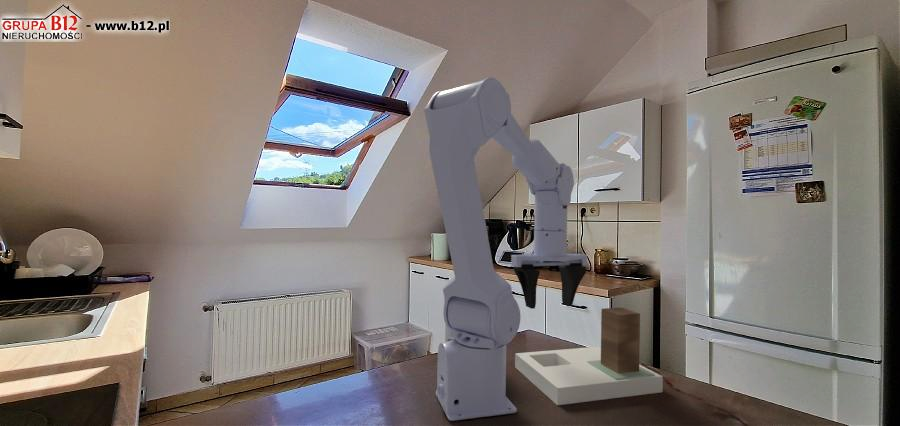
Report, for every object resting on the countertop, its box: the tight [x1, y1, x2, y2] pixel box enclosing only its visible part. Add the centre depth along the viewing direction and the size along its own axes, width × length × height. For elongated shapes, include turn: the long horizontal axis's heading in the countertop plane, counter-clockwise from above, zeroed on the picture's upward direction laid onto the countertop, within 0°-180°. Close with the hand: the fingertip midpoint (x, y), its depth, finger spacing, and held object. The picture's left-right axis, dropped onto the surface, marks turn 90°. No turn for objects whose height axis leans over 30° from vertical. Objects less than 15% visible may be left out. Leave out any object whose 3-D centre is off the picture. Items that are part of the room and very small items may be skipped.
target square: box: [587, 360, 655, 380], centre depth 62 cm, size 7×7×1 cm
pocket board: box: [514, 345, 664, 406], centre depth 63 cm, size 18×14×2 cm
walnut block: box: [600, 307, 641, 374], centre depth 62 cm, size 4×4×9 cm
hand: (549, 306), depth 70 cm, fingers open, 7 cm apart
